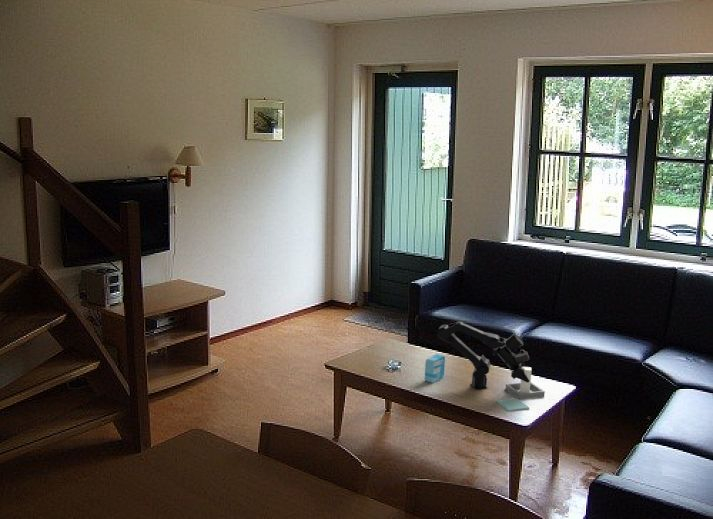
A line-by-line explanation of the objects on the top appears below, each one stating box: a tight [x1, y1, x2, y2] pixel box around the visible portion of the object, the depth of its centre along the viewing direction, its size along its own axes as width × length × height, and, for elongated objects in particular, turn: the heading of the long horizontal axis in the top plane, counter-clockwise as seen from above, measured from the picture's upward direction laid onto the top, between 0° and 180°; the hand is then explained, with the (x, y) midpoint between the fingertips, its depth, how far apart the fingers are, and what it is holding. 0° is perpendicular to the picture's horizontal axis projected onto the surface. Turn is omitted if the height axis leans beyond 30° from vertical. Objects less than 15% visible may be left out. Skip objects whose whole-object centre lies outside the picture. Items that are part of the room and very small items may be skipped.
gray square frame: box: [505, 382, 546, 400], centre depth 343 cm, size 14×13×2 cm
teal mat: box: [496, 398, 530, 412], centre depth 327 cm, size 11×11×1 cm
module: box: [519, 366, 532, 393], centre depth 342 cm, size 4×4×12 cm
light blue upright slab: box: [424, 354, 446, 384], centre depth 355 cm, size 12×4×12 cm, turn 142°
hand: (528, 380), depth 341 cm, fingers closed on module, 4 cm apart
